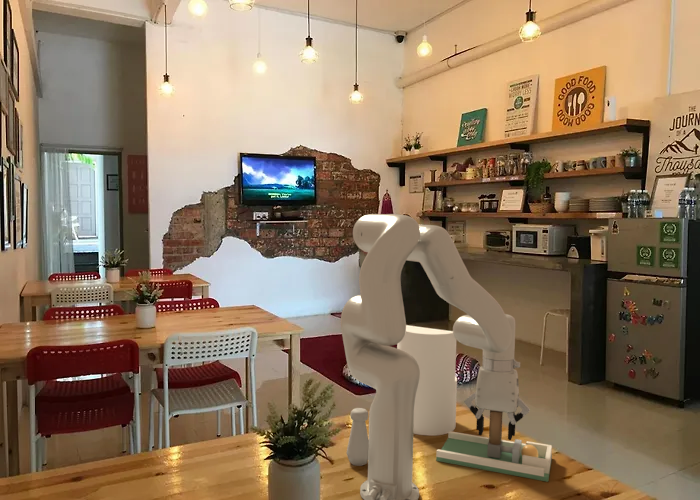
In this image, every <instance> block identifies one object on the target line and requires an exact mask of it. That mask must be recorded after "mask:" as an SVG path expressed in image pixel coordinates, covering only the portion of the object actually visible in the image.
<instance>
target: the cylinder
mask: <svg viewBox="0 0 700 500" xmlns="http://www.w3.org/2000/svg"><path fill="white" fill-rule="evenodd" d="M396 345H397V346H396V348H397V349H400V350H402V351H405V352H407V353H408V354H410V355H411V356H412V357H413V358H414V359H415V360H416V361H417V363H418V365H419V369H420V379H419V384H418V388H417V392H416V397H415V406H414V432H413V435H419V436H441V435H442V436H443V435H446V434H448V433H449V431H452V432H454V430H455V429H456V425H457V424H456V423H457V422H456V421H457V393H458V392H457V389H458V388H457V386H458V378H457V376H456V369H457V368H456V367H457V364H456V363H457V361H456V360H457V340H456V338H455V337H454V334H453V330H446V329H439V328H430V327H422V326H415V325H408V324H406V333H405V336H404V338H403V339H402V341H401V342H399V343H398V344H396Z"/></svg>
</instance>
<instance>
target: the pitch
mask: <svg viewBox="0 0 700 500" xmlns="http://www.w3.org/2000/svg"><path fill="white" fill-rule="evenodd" d="M447 434H448V436H447V439H446V440H445V442H444V444H443V446H442V447H441V449H439V448H438V449H436V456H435V457H436V459H435V460H436V462H442V463H447V464H451V465H452V464H453V465H458V466H463V467H466V468H467V467H469V468H473V469H479V470H483V471H487V472H489V471H490V472H495V473H499V474H500V473H501V474H505V475H511V476H516V477H522V478H526V479H532V480H536V481H542V482H546V483H547V482H549V479H550V471H551V465H552V456H553V454H552V453H553V452H552V451H553V450H552V449H553V445H552V444H547V443H540V442H533V441H526V442H525V443H523V442H522V444H521V450H522V448H523V447H524V446H526V445H532V446H534V447H535V448H536V449H537V450H538V457H532V456H527V455H523V456H522V455H521V456H520V460H519V463H513V462H512V453H506V452H502V454H501V456H500V458H495V457H489V456H487V449H488V442H489V436H488V437H487V436H482V435H476V434H470V433H463V432H455V431H449V433H447ZM514 442H515V441H512V440H505V439H502V446H507V447H512V448H513V445H514Z"/></svg>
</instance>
